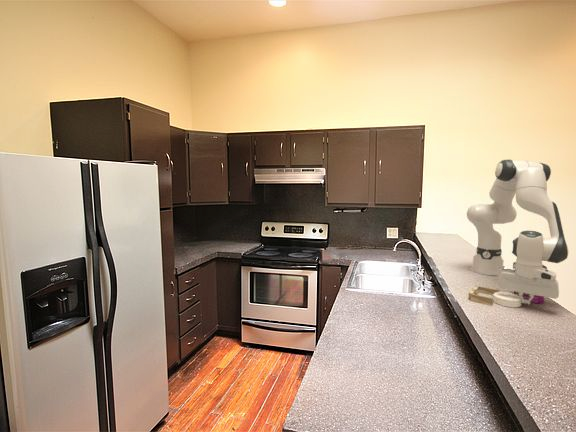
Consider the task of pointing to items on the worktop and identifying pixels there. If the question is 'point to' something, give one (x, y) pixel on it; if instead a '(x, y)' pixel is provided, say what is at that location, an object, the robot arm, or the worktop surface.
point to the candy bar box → (536, 298)
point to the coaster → (507, 299)
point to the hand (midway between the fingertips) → (525, 303)
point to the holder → (482, 298)
